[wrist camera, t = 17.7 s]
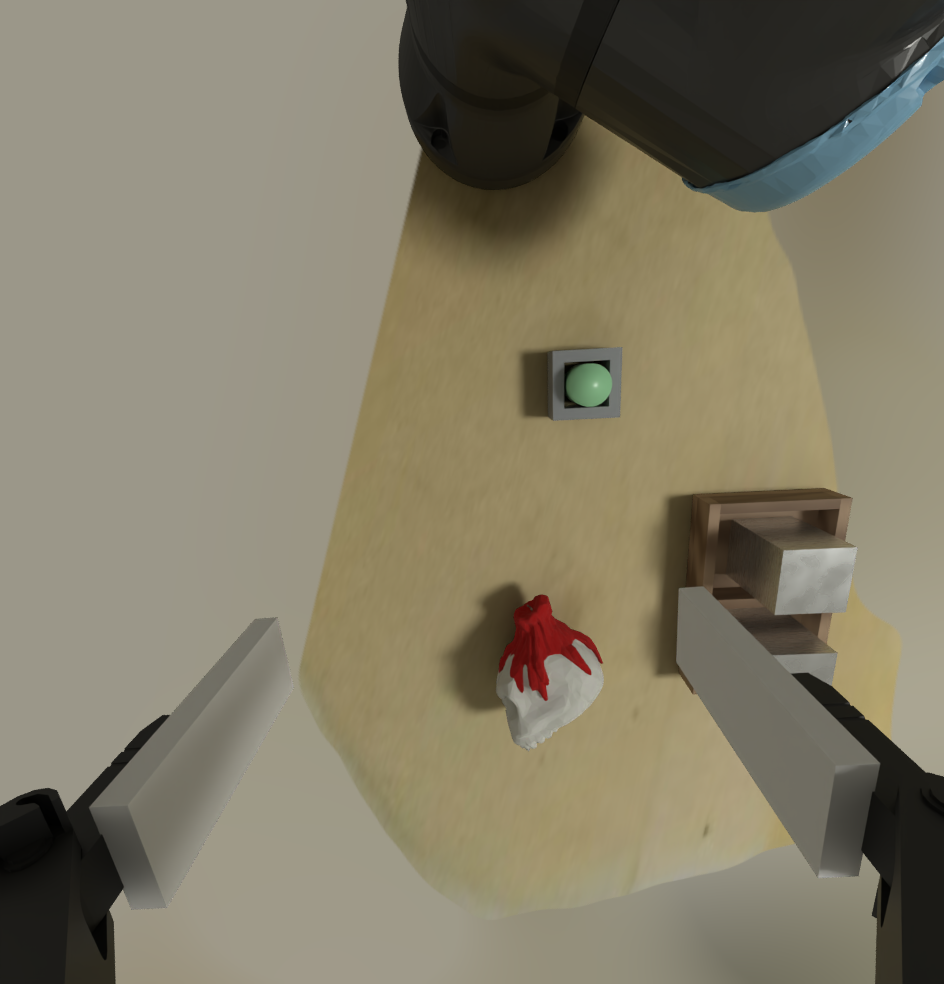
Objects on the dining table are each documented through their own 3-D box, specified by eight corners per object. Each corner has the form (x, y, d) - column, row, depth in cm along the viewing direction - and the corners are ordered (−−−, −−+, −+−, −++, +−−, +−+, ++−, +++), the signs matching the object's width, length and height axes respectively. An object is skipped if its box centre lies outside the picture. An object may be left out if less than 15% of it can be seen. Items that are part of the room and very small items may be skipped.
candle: (513, 715, 52) (474, 596, 50) (608, 691, 51) (572, 569, 49) (515, 775, 44) (468, 634, 42) (631, 748, 42) (588, 602, 40)
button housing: (547, 352, 42) (552, 351, 39) (612, 348, 42) (622, 347, 39) (548, 417, 44) (553, 420, 41) (610, 413, 44) (620, 417, 41)
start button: (562, 364, 41) (569, 364, 38) (601, 362, 41) (612, 362, 38) (562, 404, 42) (569, 407, 39) (600, 402, 42) (611, 405, 39)
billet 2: (721, 609, 48) (768, 655, 40) (779, 606, 48) (837, 653, 40) (716, 657, 49) (760, 711, 42) (772, 655, 49) (827, 709, 42)
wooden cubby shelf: (693, 494, 46) (710, 504, 42) (824, 488, 45) (852, 498, 42) (678, 672, 51) (692, 694, 48) (795, 668, 51) (818, 690, 47)
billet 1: (731, 519, 45) (783, 550, 37) (792, 516, 45) (857, 547, 37) (725, 574, 47) (774, 615, 39) (784, 571, 47) (845, 612, 39)
